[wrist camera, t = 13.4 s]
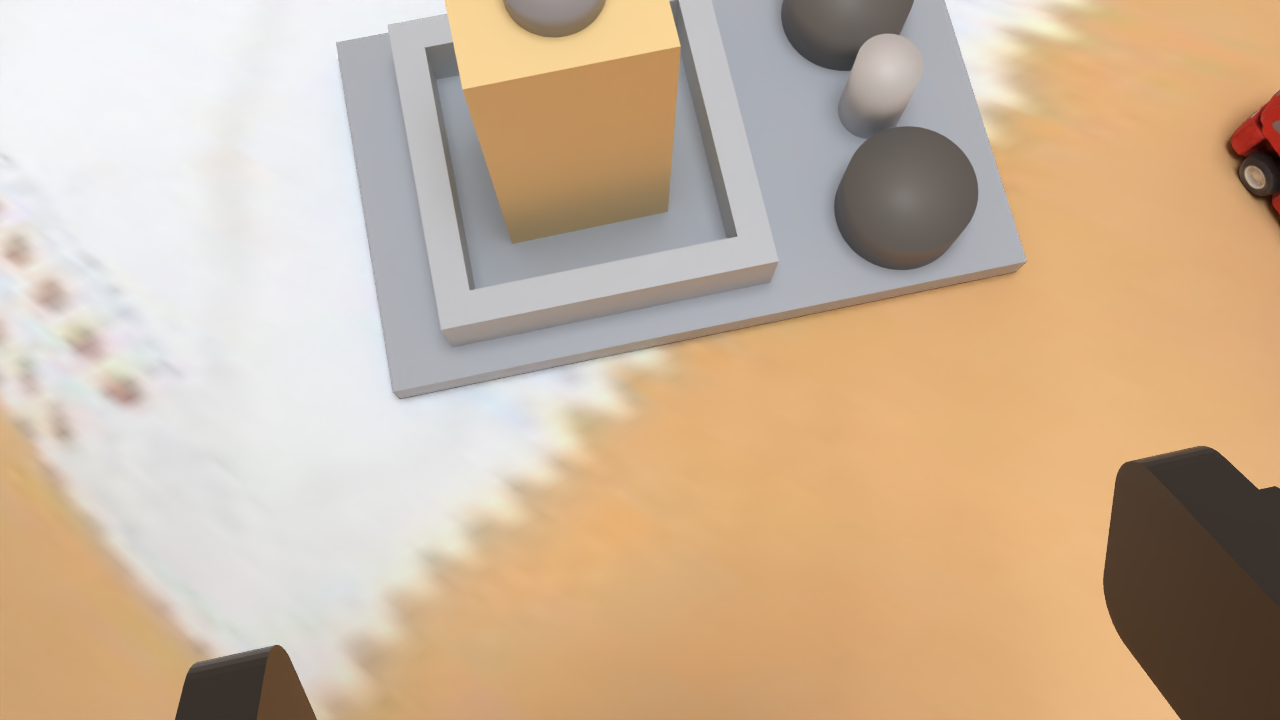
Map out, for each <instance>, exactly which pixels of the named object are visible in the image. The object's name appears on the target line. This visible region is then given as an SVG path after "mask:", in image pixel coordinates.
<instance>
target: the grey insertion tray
mask: <svg viewBox="0 0 1280 720" xmlns="http://www.w3.org/2000/svg"><path fill="white" fill-rule="evenodd" d="M669 2H670V6H671V10H672V14H673V18H674V22H675V26H676V30H677V34H678V37H679V41H680V45H681V49H680V62H679V75H678V88H677V101H676V114H675V127H674V140H673V153H672V165H671V178H670V191H669V204H668V212H664V213H659V214H655V215H650V216H645V217H640V218H635V219H630V220H626V221H621V222H616V223H611V224H606V225H601V226H597V227H592V228H587V229H582V230H577V231H572V232H567V233H563V234H558V235H553V236H548V237H543V238H538V239H534V240H529V241H524V242H519V243H514V244H512V242H511V239H510V235H509V232H508V229H507V226H506V223H505V220H504V217H503V214H502V211H501V207H500V204H499V201H498V198H497V195H496V192H495V189H494V186H493V183H492V180H491V176H490V173H489V170H488V167H487V164H486V161H485V158H484V155H483V152H482V148H481V145H480V142H479V139H478V136H477V133H476V130H475V127H474V124H473V120H472V117H471V114H470V111H469V108H468V105H467V102H466V99H465V96H464V92H463V89H462V84H461V79H460V74H459V69H458V64H457V59H456V54H455V49H454V44H453V39H452V34H451V29H450V24H449V19H448V14H444V15H438V16H433V17H428V18H422V19H417V20H412V21H406V22H401V23H396V24H390V25H388V31H389V33H385V34H379V35H374V36H369V37H363V38H358V39H353V40H347V41H342V42H337V43H336V45H337V51H338V58H339V64H340V70H341V76H342V82H343V88H344V94H345V101H346V107H347V113H348V119H349V125H350V131H351V137H352V144H353V150H354V156H355V162H356V168H357V174H358V180H359V187H360V193H361V199H362V205H363V211H364V217H365V223H366V230H367V236H368V242H369V248H370V254H371V260H372V266H373V273H374V279H375V285H376V291H377V297H378V303H379V309H380V316H381V322H382V328H383V334H384V340H385V346H386V352H387V358H388V365H389V371H390V377H391V383H392V389H393V393H395V394H396V395H397V396H398V397H399V398H400V399H401V398H406V397H411V396H416V395H421V394H426V393H430V392H435V391H440V390H445V389H450V388H455V387H460V386H464V385H469V384H474V383H479V382H484V381H489V380H494V379H498V378H503V377H508V376H513V375H518V374H523V373H527V372H532V371H537V370H542V369H547V368H552V367H557V366H561V365H566V364H571V363H576V362H581V361H586V360H590V359H595V358H600V357H605V356H610V355H615V354H620V353H624V352H629V351H634V350H639V349H644V348H649V347H653V346H658V345H663V344H668V343H673V342H678V341H683V340H687V339H692V338H697V337H702V336H707V335H712V334H717V333H721V332H726V331H731V330H736V329H741V328H746V327H750V326H755V325H760V324H765V323H770V322H775V321H780V320H784V319H789V318H794V317H799V316H804V315H809V314H813V313H818V312H823V311H828V310H833V309H838V308H843V307H847V306H852V305H857V304H862V303H867V302H872V301H876V300H881V299H886V298H891V297H896V296H901V295H906V294H910V293H915V292H920V291H925V290H930V289H935V288H940V287H944V286H949V285H954V284H959V283H964V282H969V281H973V280H978V279H983V278H988V277H993V276H998V275H1003V274H1007V273H1012V272H1016V271H1017V270H1018V269H1019V268H1020V267H1022V266H1023V265H1024V264H1025V263H1026V262H1027V260H1026V257H1025V254H1024V251H1023V248H1022V244H1021V241H1020V238H1019V235H1018V232H1017V229H1016V225H1015V222H1014V219H1013V216H1012V213H1011V210H1010V206H1009V203H1008V200H1007V197H1006V194H1005V191H1004V187H1003V184H1002V181H1001V178H1000V175H999V172H998V168H997V165H996V162H995V159H994V156H993V153H992V149H991V146H990V143H989V140H988V137H987V134H986V131H985V127H984V124H983V121H982V118H981V115H980V112H979V108H978V105H977V102H976V99H975V96H974V93H973V89H972V86H971V83H970V80H969V77H968V74H967V70H966V67H965V64H964V61H963V58H962V55H961V51H960V48H959V45H958V42H957V39H956V36H955V32H954V29H953V26H952V23H951V20H950V17H949V13H948V10H947V7H946V4H945V1H944V0H669Z"/></svg>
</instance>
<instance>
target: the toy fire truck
mask: <svg viewBox="0 0 1280 720" xmlns="http://www.w3.org/2000/svg"><path fill="white" fill-rule="evenodd" d="M1231 145H1232V147H1233V149H1234V150H1235V152H1236V153H1237V154H1239V155H1241V156H1246V157H1247V158H1246V159H1245V160H1244V161H1243V162H1242V164H1241V166H1240V168H1239V175H1240V178H1241V181H1242V183H1243V184H1244V186H1245V187H1246V189H1248V190H1249V191H1250V192H1252V193H1253V194H1254V195H1258V196H1267V195H1273V196H1272V205H1273V206H1274V208H1275V209H1276V210H1277V211H1278V213H1279V215H1280V90H1279V91H1278V92H1277V93H1276V94H1275V95H1274V96H1273V97H1272V98H1271V100H1270V101H1269V102H1268V103H1267V104H1265V105H1264V106H1263V107H1261V108H1260V109H1259V110H1258V111H1256V112H1255V113H1254V114H1253V115H1251V116H1250V117H1249V118H1248V119H1247V120H1246V121H1245V122H1244V123H1243V124H1242V125H1241V126H1240V127H1239V128H1238V129H1237V130H1236V131H1235V133H1234V134H1233V136H1232V137H1231Z"/></svg>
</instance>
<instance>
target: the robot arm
mask: <svg viewBox="0 0 1280 720" xmlns="http://www.w3.org/2000/svg"><path fill="white" fill-rule="evenodd" d="M1103 585H1104V594H1105V600H1106V604H1107V608H1108V611H1109V614H1110V617H1111V619H1112V622H1113V624H1114V626H1115V628H1116V631H1117V632H1118V634H1119V636H1120V638H1121V639H1122V641H1123V642H1124V644H1125V645H1126V647H1127V648H1128V649H1129V651H1130V652H1131V653H1132V655H1133V656H1134V657H1135V659H1136V660H1137V661H1138V663H1139V664H1140V665H1141V667H1142V668H1143V669H1144V671H1145V672H1146V673H1147V675H1148V676H1149V677H1150V679H1151V680H1152V681H1153V683H1154V684H1155V685H1156V687H1157V688H1158V689H1159V691H1160V692H1161V693H1162V695H1163V696H1164V698H1165V699H1166V700H1167V702H1168V703H1169V704H1170V706H1171V707H1172V708H1173V710H1174V711H1175V712H1176V714H1177V715H1178V716H1179V718H1180V719H1181V720H1280V488H1278V487H1276V486H1274V487H1269V488H1265V489H1260V490H1259V489H1258V488H1256V487H1255V486H1254V485H1253V484H1252V483H1251V482H1250V481H1249V480H1248V479H1247V478H1246V477H1245V476H1244V475H1243V474H1242V473H1240V472H1239V471H1238V470H1237V469H1236V468H1235V467H1234V466H1233V465H1232V464H1231V463H1230V462H1229V461H1228V460H1227V459H1226V458H1224V457H1223V456H1222V455H1221V454H1220V453H1219V452H1217V451H1216V450H1214V449H1212V448H1210V447H1206V446H1197V447H1193V448H1188V449H1184V450H1179V451H1175V452H1170V453H1165V454H1161V455H1156V456H1152V457H1147V458H1143V459H1138V460H1133V461H1129V462H1126V463H1124V464H1123V465H1122V466H1121V468H1120V469H1119V471H1118V473H1117V477H1116V482H1115V489H1114V497H1113V505H1112V513H1111V521H1110V529H1109V537H1108V544H1107V552H1106V560H1105V568H1104V578H1103ZM175 720H317V719H316V716H315V714H314V712H313V710H312V707H311V705H310V703H309V700H308V698H307V696H306V694H305V691H304V689H303V687H302V685H301V682H300V680H299V678H298V676H297V673H296V671H295V669H294V666H293V664H292V662H291V660H290V658H289V656H288V654H287V652H286V651H285V650H284V649H283V648H282V647H281V646H279V645H274V646H270V647H265V648H261V649H256V650H252V651H247V652H242V653H238V654H233V655H229V656H224V657H219V658H215V659H210V660H206V661H201V662H197V663H195V664H193V665H192V667H191V668H190V669H189V671H188V673H187V676H186V679H185V682H184V686H183V690H182V694H181V698H180V702H179V706H178V710H177V714H176V718H175Z"/></svg>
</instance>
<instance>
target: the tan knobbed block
mask: <svg viewBox="0 0 1280 720" xmlns="http://www.w3.org/2000/svg"><path fill="white" fill-rule="evenodd" d="M445 4H446V9H447V14H448V19H449V24H450V29H451V34H452V39H453V44H454V49H455V54H456V59H457V64H458V69H459V74H460V79H461V84H462V89H463V92H464V96H465V99H466V102H467V105H468V108H469V111H470V114H471V117H472V120H473V124H474V127H475V130H476V133H477V136H478V139H479V142H480V145H481V148H482V152H483V155H484V158H485V161H486V164H487V167H488V170H489V173H490V176H491V180H492V183H493V186H494V189H495V192H496V195H497V198H498V201H499V204H500V207H501V211H502V214H503V217H504V220H505V223H506V226H507V229H508V232H509V235H510V239H511V242H512V244H514V243H519V242H524V241H529V240H534V239H538V238H543V237H548V236H553V235H558V234H563V233H567V232H572V231H577V230H582V229H587V228H592V227H597V226H601V225H606V224H611V223H616V222H621V221H626V220H630V219H635V218H640V217H645V216H650V215H655V214H659V213H664V212H668V204H669V191H670V178H671V165H672V153H673V140H674V127H675V114H676V101H677V88H678V75H679V62H680V49H681V45H680V41H679V37H678V34H677V30H676V26H675V22H674V18H673V14H672V10H671V6H670V2H669V0H445Z"/></svg>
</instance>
